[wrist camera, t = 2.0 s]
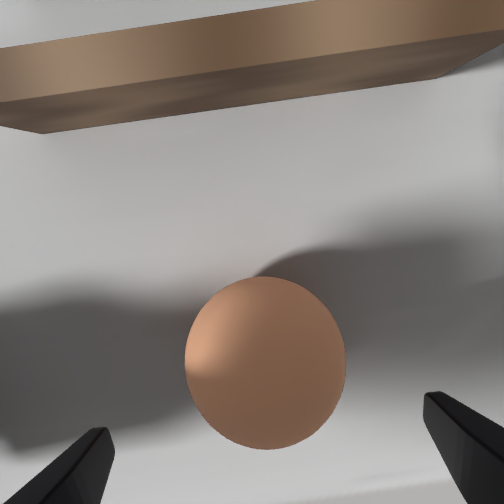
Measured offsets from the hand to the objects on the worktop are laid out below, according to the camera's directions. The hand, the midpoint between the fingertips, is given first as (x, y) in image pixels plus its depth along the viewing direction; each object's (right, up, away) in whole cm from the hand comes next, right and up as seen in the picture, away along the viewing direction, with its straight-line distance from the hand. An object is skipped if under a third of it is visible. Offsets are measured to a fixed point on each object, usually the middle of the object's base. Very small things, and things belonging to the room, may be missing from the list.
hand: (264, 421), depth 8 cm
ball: (0, +1, +3) cm, 3 cm away
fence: (-1, +11, +3) cm, 12 cm away
